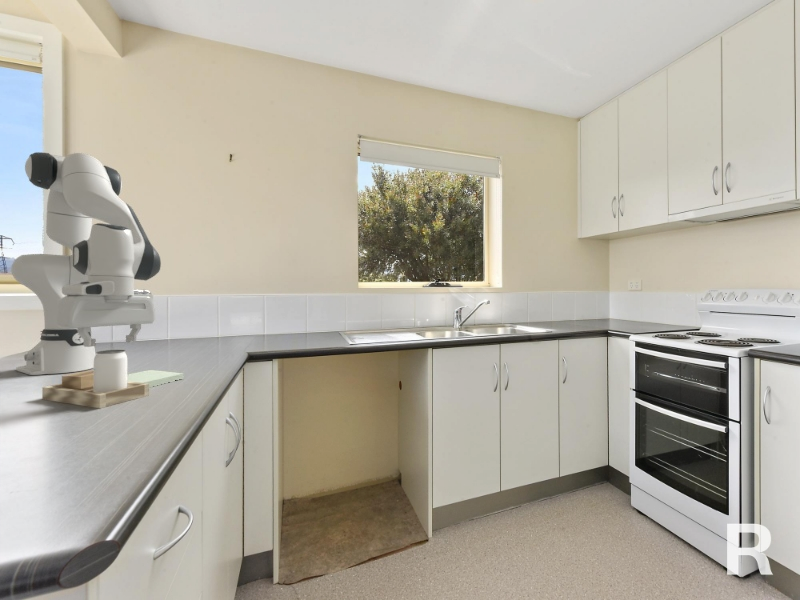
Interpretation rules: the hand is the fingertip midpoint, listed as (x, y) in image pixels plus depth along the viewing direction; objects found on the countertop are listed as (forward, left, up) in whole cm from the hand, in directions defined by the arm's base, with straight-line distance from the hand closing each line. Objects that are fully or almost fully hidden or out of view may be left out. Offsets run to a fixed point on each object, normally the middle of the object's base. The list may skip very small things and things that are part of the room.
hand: (111, 344), depth 86 cm
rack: (-5, 0, -14) cm, 15 cm away
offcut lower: (-10, 0, -14) cm, 17 cm away
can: (0, 0, -14) cm, 14 cm away
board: (-9, +15, -14) cm, 22 cm away
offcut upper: (-10, 0, -11) cm, 15 cm away
